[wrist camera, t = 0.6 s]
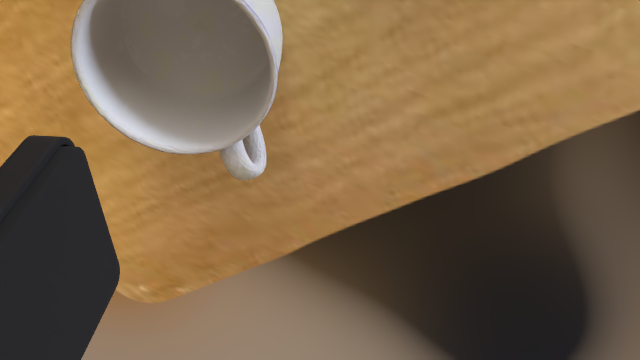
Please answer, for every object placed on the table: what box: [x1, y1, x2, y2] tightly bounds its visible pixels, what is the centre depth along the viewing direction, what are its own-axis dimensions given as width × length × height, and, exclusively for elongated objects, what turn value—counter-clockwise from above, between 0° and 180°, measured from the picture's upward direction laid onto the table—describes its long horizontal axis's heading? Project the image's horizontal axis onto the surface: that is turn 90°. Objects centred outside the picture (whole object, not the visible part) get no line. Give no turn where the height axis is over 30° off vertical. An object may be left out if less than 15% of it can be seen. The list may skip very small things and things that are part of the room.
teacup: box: [71, 0, 282, 180], centre depth 35 cm, size 14×11×8 cm
